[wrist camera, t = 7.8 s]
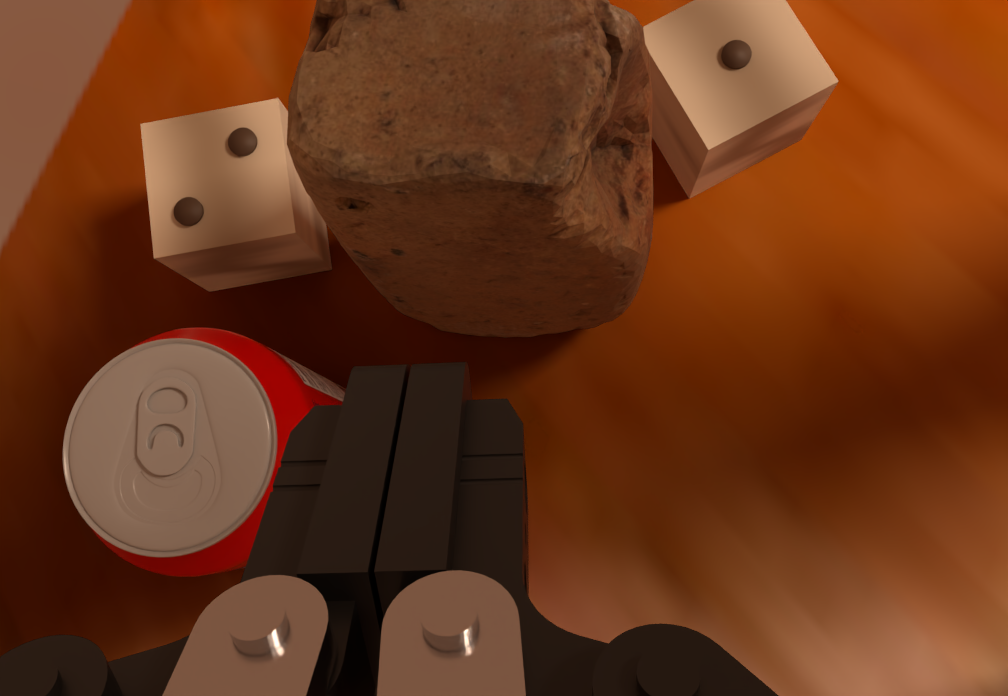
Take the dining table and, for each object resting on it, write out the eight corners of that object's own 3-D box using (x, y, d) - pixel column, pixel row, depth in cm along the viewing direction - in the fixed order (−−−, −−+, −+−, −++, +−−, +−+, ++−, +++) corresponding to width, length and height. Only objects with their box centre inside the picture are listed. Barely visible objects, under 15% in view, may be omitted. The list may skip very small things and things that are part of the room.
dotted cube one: (736, 37, 44) (763, -39, 38) (800, 140, 43) (840, 79, 36) (626, 95, 44) (636, 28, 37) (688, 199, 42) (709, 148, 36)
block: (394, 333, 42) (246, 183, 22) (413, 180, 43) (288, -89, 24) (628, 354, 41) (685, 217, 22) (640, 197, 42) (706, -68, 23)
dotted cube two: (316, 152, 44) (276, 95, 38) (332, 270, 43) (294, 231, 37) (197, 174, 44) (138, 122, 38) (210, 292, 43) (151, 257, 37)
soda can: (393, 378, 42) (299, 310, 27) (393, 552, 40) (295, 579, 26) (227, 384, 42) (46, 319, 28) (221, 556, 41) (29, 584, 26)
